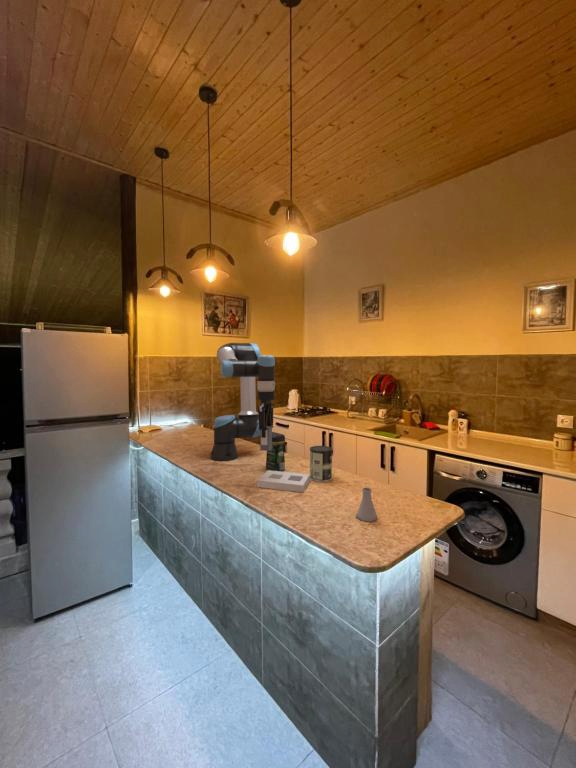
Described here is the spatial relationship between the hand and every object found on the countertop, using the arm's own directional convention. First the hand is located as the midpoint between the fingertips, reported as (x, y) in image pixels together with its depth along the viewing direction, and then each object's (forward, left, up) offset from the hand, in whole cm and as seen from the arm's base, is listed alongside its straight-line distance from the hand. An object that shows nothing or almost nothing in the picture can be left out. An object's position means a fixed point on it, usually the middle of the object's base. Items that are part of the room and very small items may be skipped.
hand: (266, 443), depth 145 cm
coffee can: (-12, +22, -18) cm, 31 cm away
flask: (+22, +44, -18) cm, 52 cm away
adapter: (0, 0, -3) cm, 3 cm away
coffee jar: (-18, -2, -18) cm, 26 cm away
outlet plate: (0, +8, -18) cm, 19 cm away
